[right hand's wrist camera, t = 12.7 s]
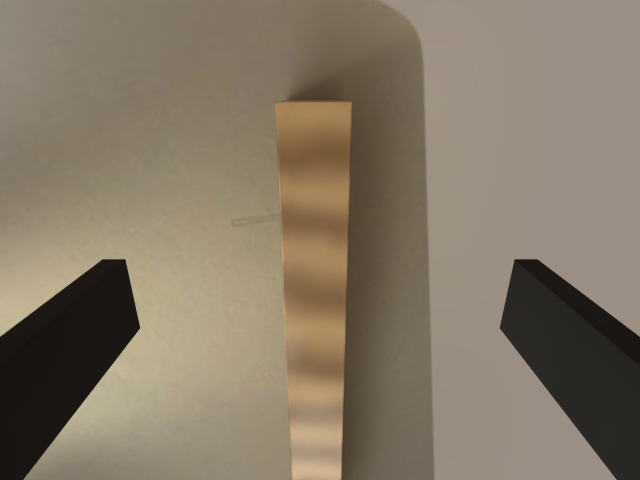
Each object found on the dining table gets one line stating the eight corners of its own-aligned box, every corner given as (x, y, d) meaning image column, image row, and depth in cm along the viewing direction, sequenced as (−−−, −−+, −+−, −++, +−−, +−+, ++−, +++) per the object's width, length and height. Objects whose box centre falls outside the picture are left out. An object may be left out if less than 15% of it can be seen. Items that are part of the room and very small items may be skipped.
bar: (286, 100, 31) (275, 101, 23) (343, 99, 31) (352, 101, 23) (300, 497, 50) (296, 573, 42) (335, 497, 50) (339, 573, 42)
